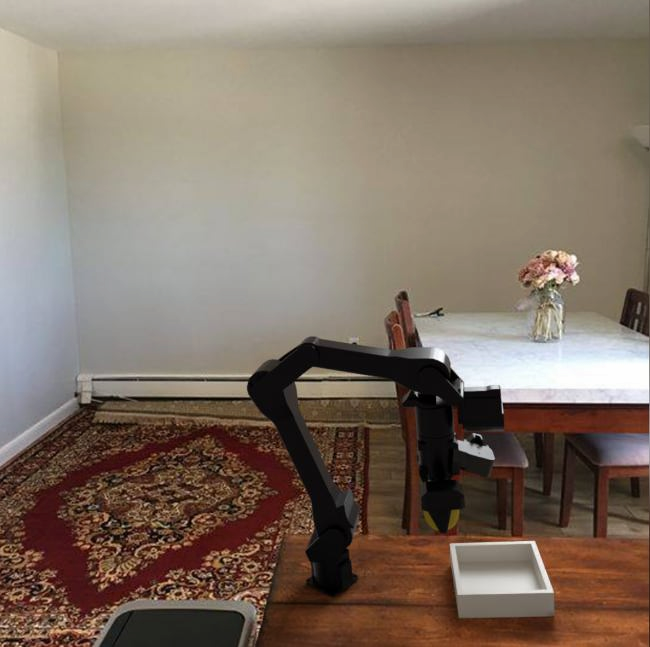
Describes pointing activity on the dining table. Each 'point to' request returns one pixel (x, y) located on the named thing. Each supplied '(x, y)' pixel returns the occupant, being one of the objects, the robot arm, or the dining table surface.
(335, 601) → the dining table surface
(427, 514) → the lemon
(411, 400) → the robot arm
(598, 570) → the dining table surface
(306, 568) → the dining table surface
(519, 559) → the box
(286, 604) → the dining table surface
